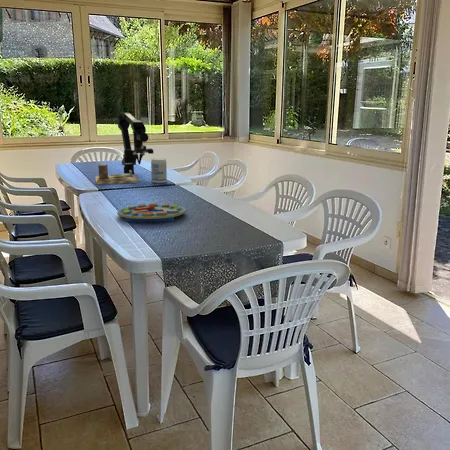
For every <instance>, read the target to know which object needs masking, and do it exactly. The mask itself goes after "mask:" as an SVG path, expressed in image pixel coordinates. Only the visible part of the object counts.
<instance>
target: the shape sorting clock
mask: <svg viewBox="0 0 450 450" xmlns="http://www.w3.org/2000/svg"><path fill="white" fill-rule="evenodd" d="M116 213H117V215H118V216H119V217H122V218H124V220H125V223H129V222H132V223H134V222H138V223H139V222H140V223H141V222H149V223H150V222H174V220H175V217H178V216H181V215H183V214H185V213H186V208H185V207H184V206H180V205H178V204H169V202H168V203H167V202H166V203H164V204H158V203H156V202H152V203H149V204H146V203H139V204H138V205H132V204H131V205H128V206H127V207H121V208H120V209H118V210H117V212H116Z"/></svg>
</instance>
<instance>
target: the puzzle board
mask: <svg viewBox="0 0 450 450" xmlns="http://www.w3.org/2000/svg"><path fill="white" fill-rule="evenodd" d="M121 174H122V173H118V174H110V175H108V179H99V175H96V176H95V185H96V186H97V185H113V184H115V185H116V184H118V185H119V184H134V183H135V184H139V179H138V176H137V175H136V174H132V175H133V176H121Z"/></svg>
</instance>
